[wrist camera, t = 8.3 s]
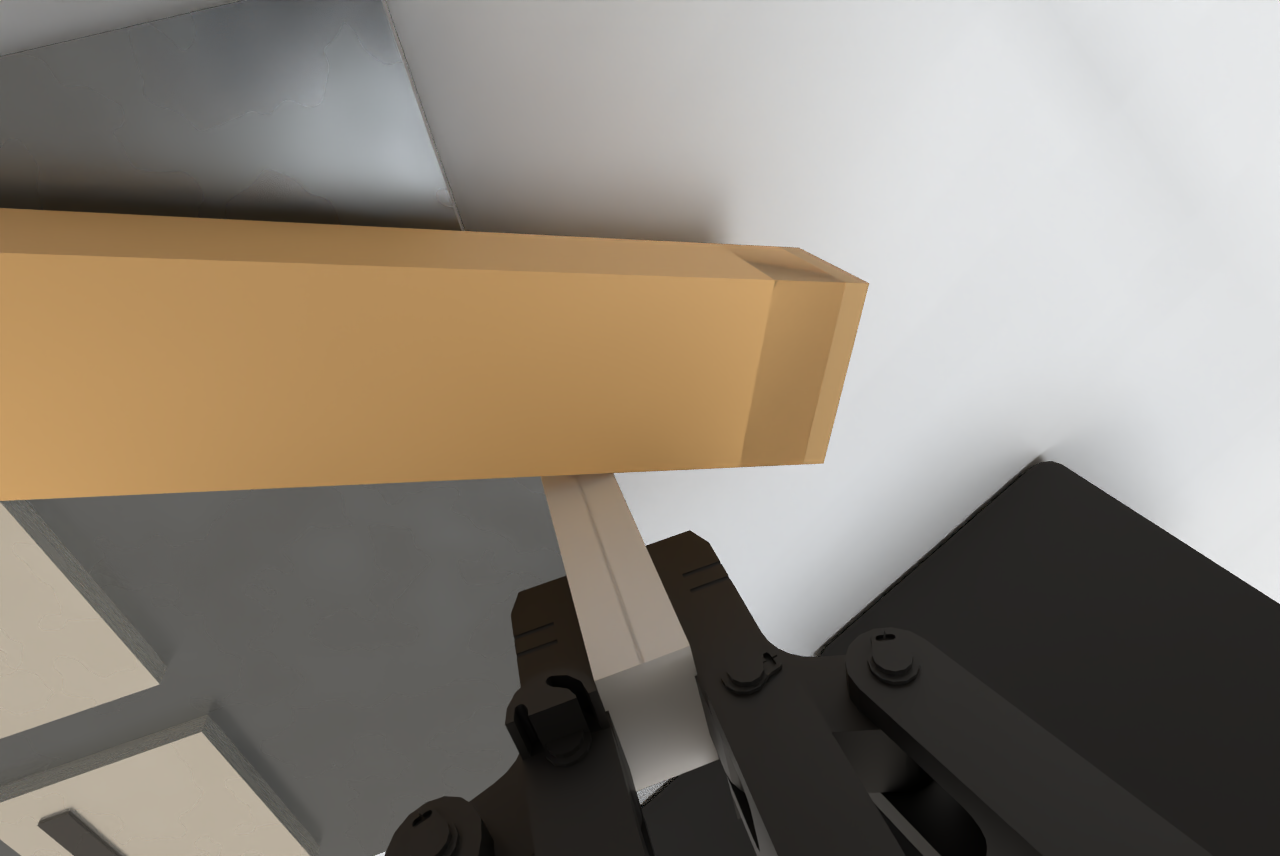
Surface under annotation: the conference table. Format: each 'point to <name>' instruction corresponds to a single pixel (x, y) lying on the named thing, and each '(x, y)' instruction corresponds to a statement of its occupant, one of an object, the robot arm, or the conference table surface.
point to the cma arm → (399, 354)
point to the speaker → (1081, 663)
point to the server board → (248, 491)
